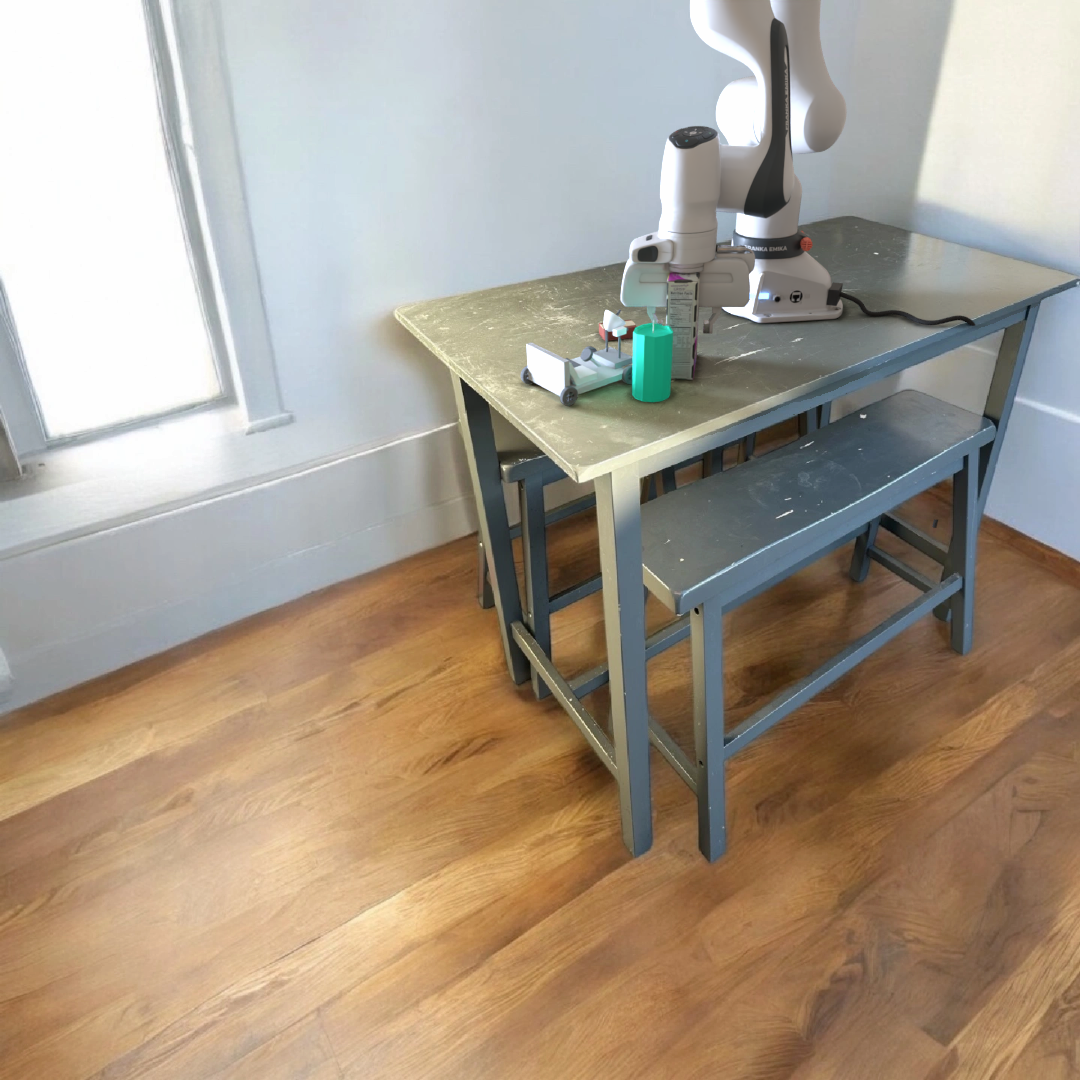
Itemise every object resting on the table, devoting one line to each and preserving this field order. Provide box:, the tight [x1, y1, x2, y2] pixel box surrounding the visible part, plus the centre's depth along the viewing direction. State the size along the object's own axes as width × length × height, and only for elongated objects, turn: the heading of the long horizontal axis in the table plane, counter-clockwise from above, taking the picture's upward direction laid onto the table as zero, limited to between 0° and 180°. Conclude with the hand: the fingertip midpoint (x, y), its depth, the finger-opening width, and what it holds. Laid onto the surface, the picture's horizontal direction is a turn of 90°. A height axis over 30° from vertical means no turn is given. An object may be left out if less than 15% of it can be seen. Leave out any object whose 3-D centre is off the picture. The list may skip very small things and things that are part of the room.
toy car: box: [520, 308, 633, 407], centre depth 136 cm, size 18×10×12 cm
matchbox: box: [598, 319, 638, 342], centre depth 154 cm, size 6×4×2 cm, turn 102°
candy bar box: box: [665, 272, 700, 381], centre depth 137 cm, size 11×5×16 cm, turn 168°
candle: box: [631, 320, 673, 403], centre depth 130 cm, size 6×6×12 cm
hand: (682, 332), depth 138 cm, fingers open, 7 cm apart
